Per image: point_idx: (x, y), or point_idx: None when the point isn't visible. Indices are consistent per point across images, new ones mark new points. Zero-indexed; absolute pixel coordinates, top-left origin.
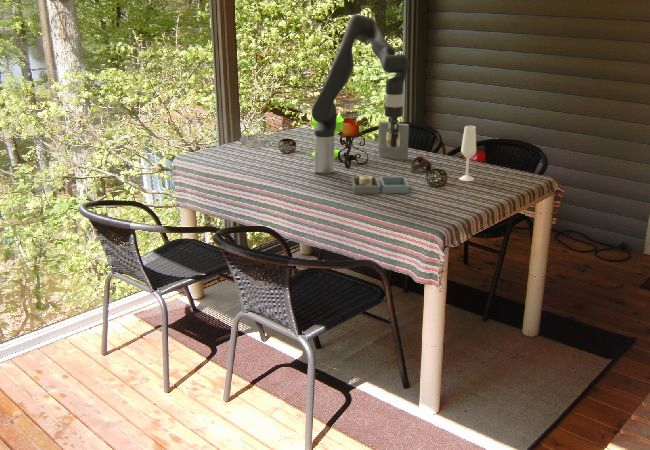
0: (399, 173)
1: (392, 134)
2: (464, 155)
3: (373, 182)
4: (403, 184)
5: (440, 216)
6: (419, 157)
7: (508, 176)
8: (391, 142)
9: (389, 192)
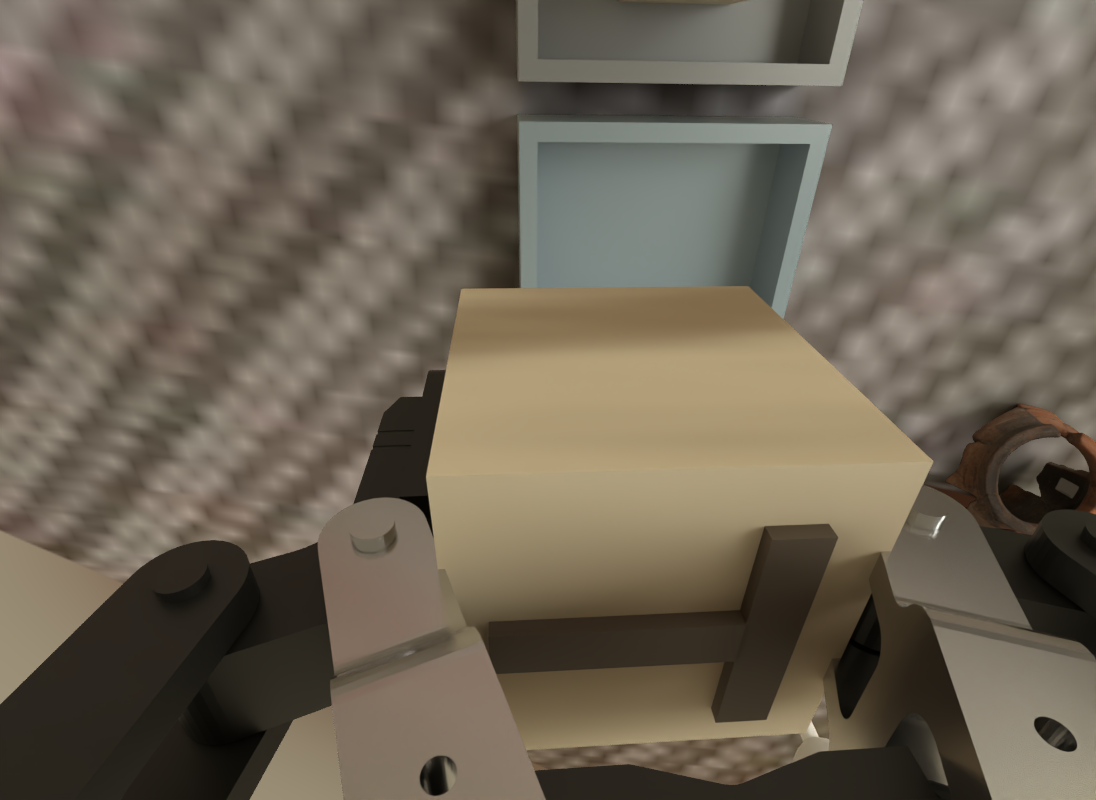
0: (1017, 319)
1: (47, 679)
2: (811, 750)
3: (808, 49)
4: None
5: (68, 447)
6: (1089, 504)
7: (746, 744)
8: (419, 424)
9: (518, 174)
